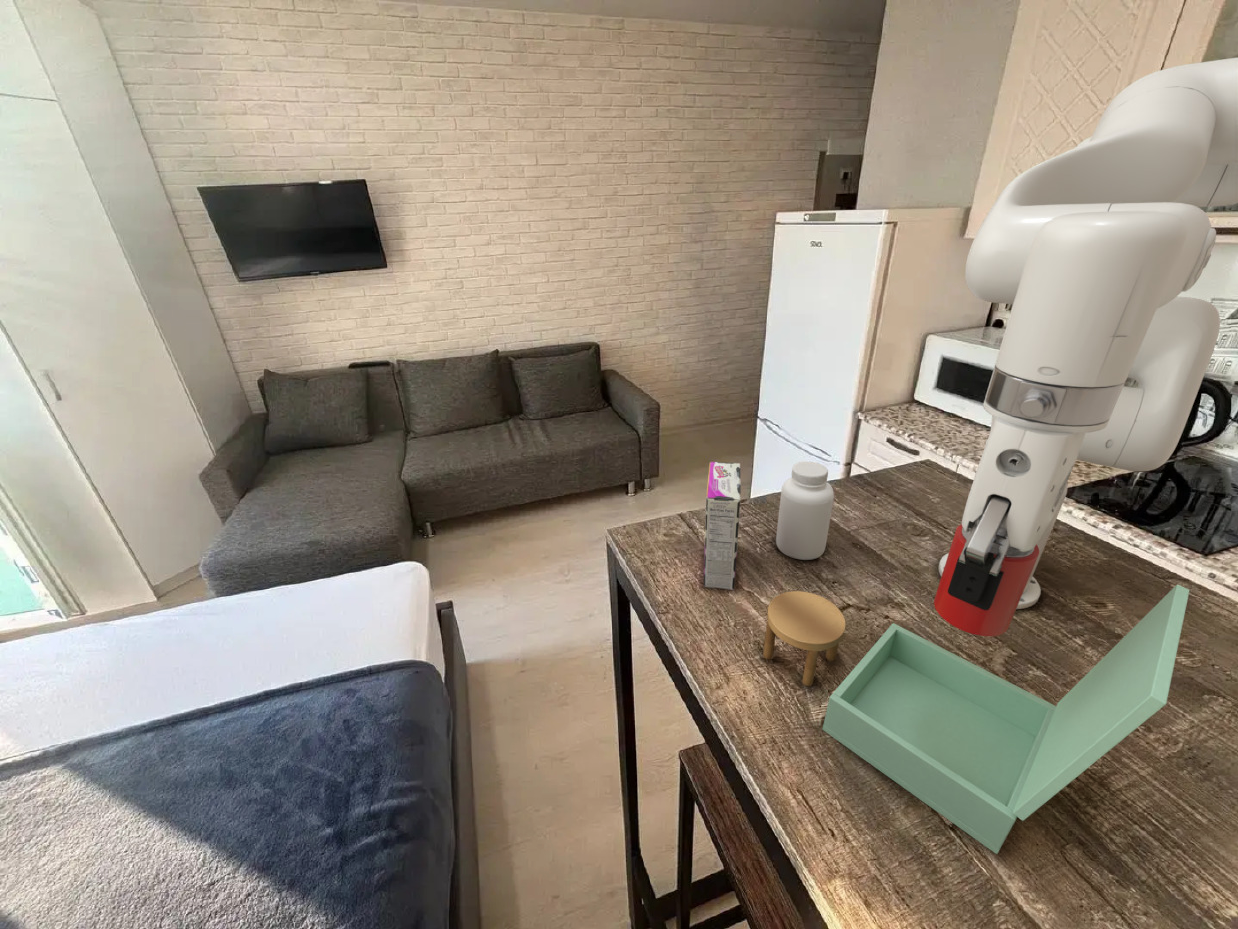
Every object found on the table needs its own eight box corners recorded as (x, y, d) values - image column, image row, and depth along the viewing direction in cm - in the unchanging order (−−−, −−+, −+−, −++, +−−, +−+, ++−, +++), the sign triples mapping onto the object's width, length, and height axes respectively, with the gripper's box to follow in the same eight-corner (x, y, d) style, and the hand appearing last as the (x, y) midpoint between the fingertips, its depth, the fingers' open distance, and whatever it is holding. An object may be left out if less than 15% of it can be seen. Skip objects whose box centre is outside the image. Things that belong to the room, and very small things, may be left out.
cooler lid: (1150, 695, 33) (1166, 704, 32) (1177, 583, 42) (1190, 589, 41) (1012, 813, 43) (1022, 821, 42) (1057, 702, 52) (1067, 708, 51)
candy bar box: (705, 545, 87) (708, 460, 80) (734, 548, 86) (741, 462, 79) (701, 588, 78) (705, 496, 70) (734, 592, 77) (742, 498, 69)
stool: (787, 620, 71) (793, 581, 68) (849, 657, 65) (859, 616, 62) (748, 655, 66) (753, 614, 63) (812, 699, 60) (821, 656, 57)
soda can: (947, 582, 52) (969, 511, 48) (1017, 612, 48) (1048, 537, 44) (923, 612, 48) (946, 538, 44) (997, 647, 44) (1029, 569, 40)
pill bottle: (768, 535, 89) (776, 459, 83) (812, 531, 90) (824, 455, 83) (785, 563, 82) (796, 482, 76) (833, 559, 83) (848, 478, 76)
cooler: (822, 729, 56) (829, 697, 54) (884, 653, 65) (893, 622, 63) (996, 855, 45) (1015, 820, 43) (1043, 742, 54) (1060, 708, 52)
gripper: (1088, 447, 31) (999, 659, 39) (1134, 377, 41) (1055, 558, 49) (950, 416, 36) (897, 609, 44) (1020, 360, 46) (967, 527, 54)
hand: (981, 581), depth 46 cm, fingers closed on soda can, 6 cm apart
